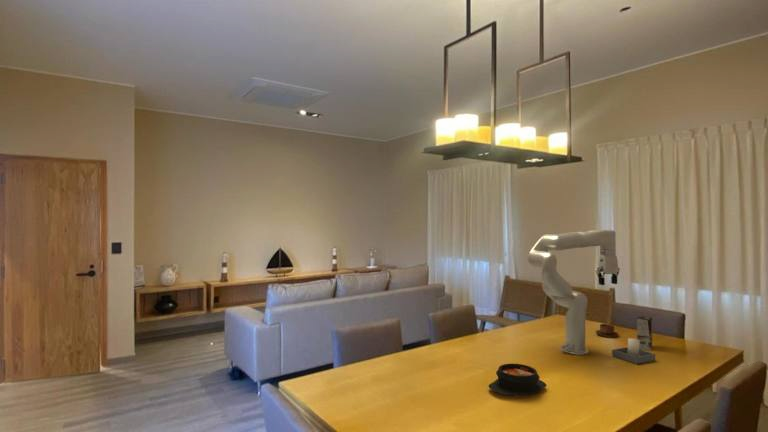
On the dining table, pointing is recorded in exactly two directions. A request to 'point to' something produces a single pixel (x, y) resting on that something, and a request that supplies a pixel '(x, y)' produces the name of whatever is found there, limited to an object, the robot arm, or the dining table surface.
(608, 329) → the cup and saucer
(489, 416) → the dining table surface
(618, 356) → the bin
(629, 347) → the canister
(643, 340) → the coffee box
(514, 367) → the casserole
